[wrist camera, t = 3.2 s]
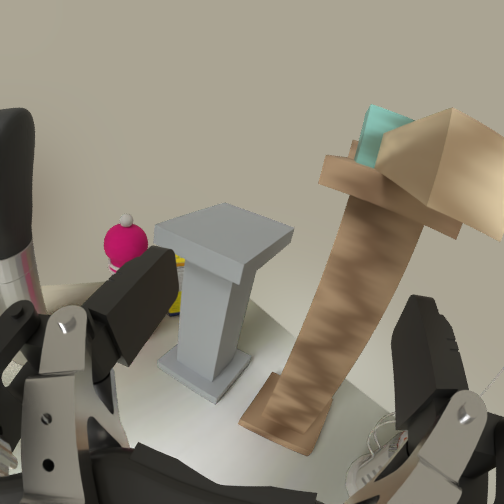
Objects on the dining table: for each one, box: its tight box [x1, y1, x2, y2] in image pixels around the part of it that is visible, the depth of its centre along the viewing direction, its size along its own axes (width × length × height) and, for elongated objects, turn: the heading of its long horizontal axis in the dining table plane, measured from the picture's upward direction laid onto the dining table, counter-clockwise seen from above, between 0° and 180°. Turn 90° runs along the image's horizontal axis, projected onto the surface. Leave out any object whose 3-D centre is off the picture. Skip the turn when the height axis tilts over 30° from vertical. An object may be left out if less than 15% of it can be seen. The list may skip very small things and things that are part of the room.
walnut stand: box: [238, 140, 462, 456], centre depth 27 cm, size 10×13×34 cm
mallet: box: [354, 104, 504, 242], centre depth 14 cm, size 6×21×5 cm, turn 162°
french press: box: [345, 367, 504, 497], centre depth 19 cm, size 10×12×25 cm
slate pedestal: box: [154, 203, 294, 404], centre depth 34 cm, size 10×13×22 cm
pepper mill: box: [104, 214, 148, 275], centre depth 36 cm, size 7×7×20 cm
